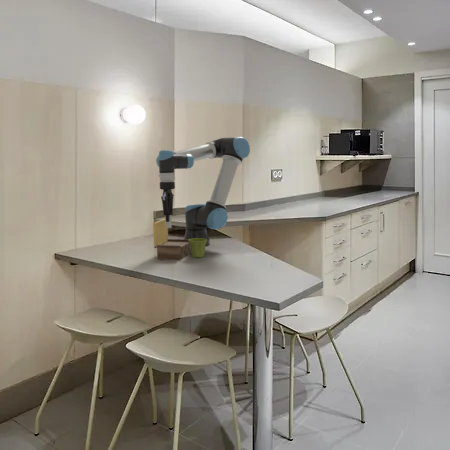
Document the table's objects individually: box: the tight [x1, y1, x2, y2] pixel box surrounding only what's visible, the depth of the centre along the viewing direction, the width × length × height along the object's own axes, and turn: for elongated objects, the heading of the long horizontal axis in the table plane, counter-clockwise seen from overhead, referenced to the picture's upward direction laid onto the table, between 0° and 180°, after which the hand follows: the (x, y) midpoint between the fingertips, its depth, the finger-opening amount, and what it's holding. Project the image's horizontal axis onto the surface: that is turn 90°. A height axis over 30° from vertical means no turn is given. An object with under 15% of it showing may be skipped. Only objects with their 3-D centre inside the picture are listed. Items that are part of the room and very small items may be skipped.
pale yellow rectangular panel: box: [152, 218, 169, 249], centre depth 255 cm, size 19×1×12 cm, turn 168°
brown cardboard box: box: [156, 238, 192, 261], centre depth 254 cm, size 18×12×7 cm, turn 168°
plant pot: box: [189, 238, 207, 258], centre depth 252 cm, size 9×9×9 cm
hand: (168, 227), depth 253 cm, fingers closed
